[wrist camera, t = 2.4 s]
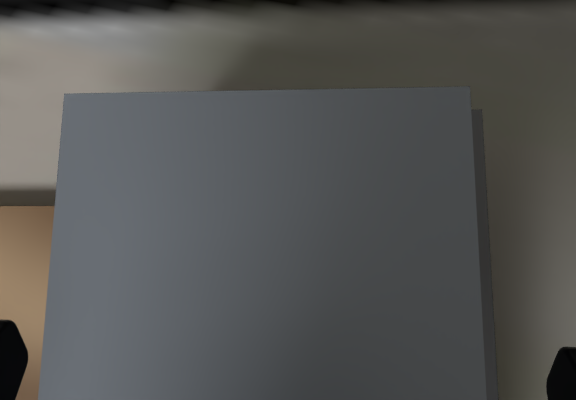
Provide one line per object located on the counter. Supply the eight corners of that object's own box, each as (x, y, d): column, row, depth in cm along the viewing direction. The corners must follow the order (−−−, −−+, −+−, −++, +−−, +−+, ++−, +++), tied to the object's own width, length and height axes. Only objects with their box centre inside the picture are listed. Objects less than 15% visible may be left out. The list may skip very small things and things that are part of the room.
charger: (392, 396, 14) (494, 544, 6) (205, 392, 15) (26, 527, 6) (388, 209, 15) (470, 86, 7) (211, 209, 16) (64, 93, 7)
